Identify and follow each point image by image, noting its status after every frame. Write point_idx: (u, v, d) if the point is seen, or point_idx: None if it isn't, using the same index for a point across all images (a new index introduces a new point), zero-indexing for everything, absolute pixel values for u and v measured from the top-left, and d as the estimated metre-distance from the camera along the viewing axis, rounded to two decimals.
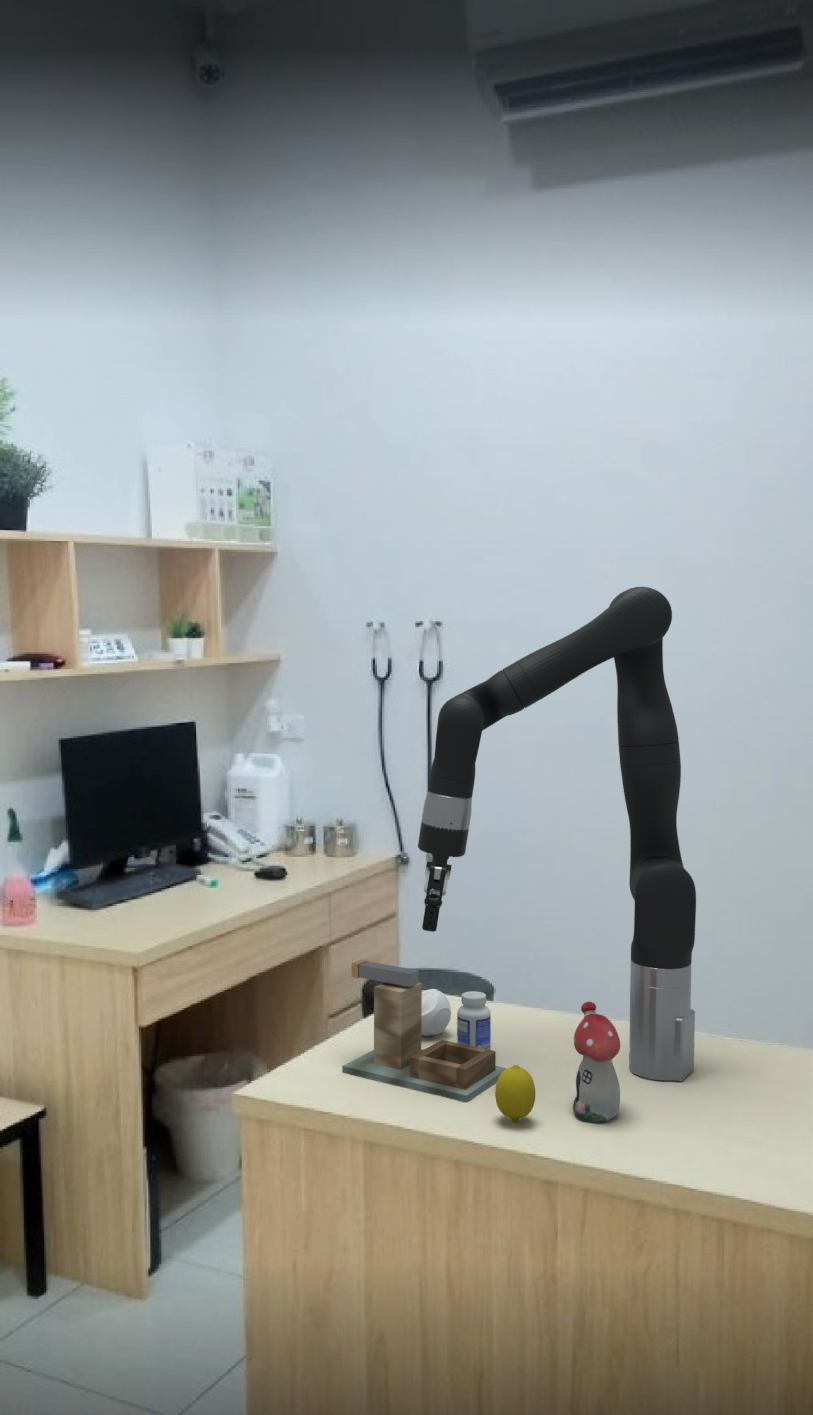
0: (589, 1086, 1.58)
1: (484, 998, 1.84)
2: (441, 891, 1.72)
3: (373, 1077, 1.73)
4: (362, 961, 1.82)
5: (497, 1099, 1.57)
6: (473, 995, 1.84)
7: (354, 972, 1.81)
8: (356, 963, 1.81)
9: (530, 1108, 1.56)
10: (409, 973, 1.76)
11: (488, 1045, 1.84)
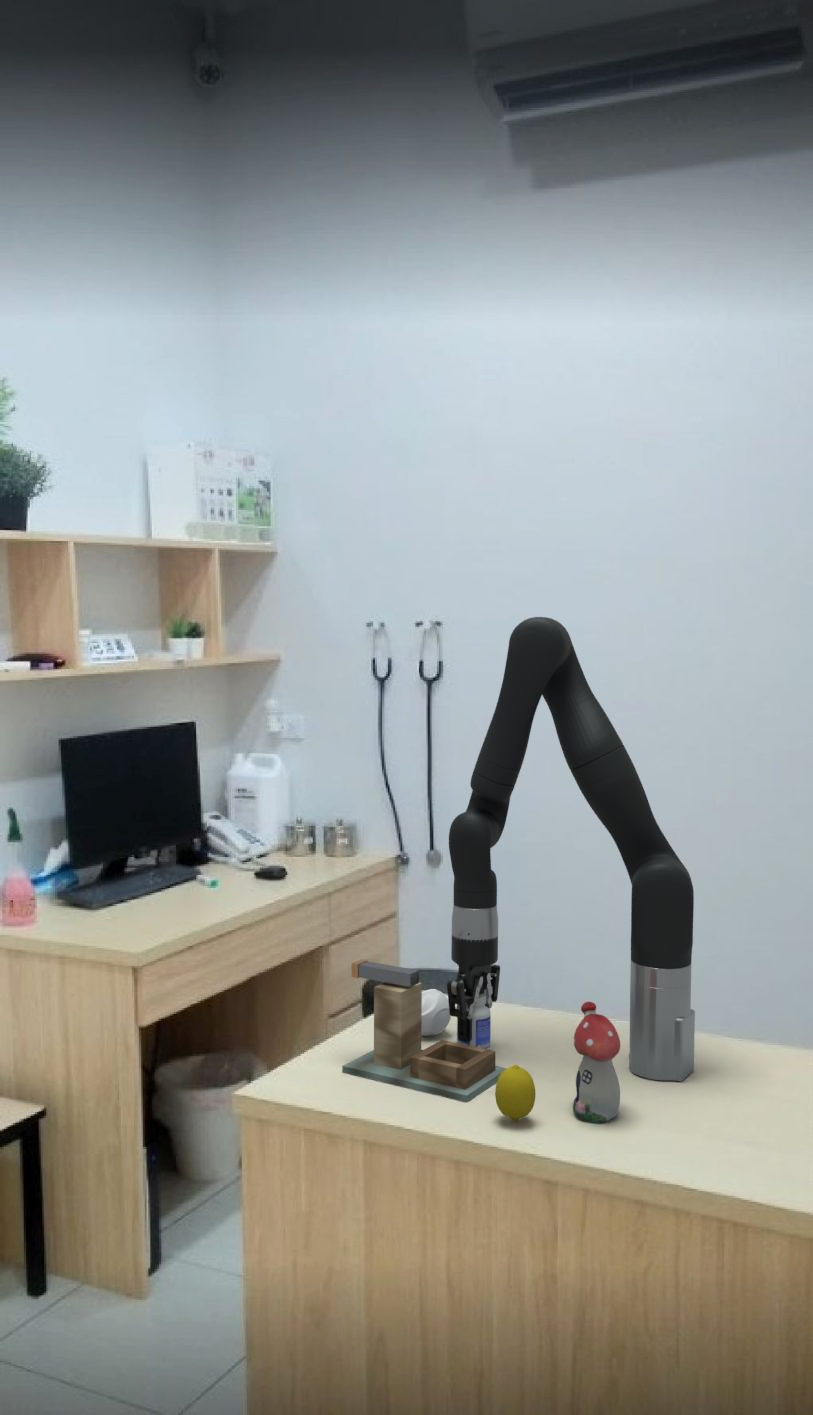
0: (589, 1086, 1.58)
1: (484, 998, 1.84)
2: (460, 1005, 1.79)
3: (373, 1077, 1.73)
4: (362, 961, 1.82)
5: (497, 1099, 1.57)
6: None
7: (354, 972, 1.81)
8: (356, 963, 1.81)
9: (530, 1108, 1.56)
10: (409, 973, 1.76)
11: (488, 1045, 1.84)
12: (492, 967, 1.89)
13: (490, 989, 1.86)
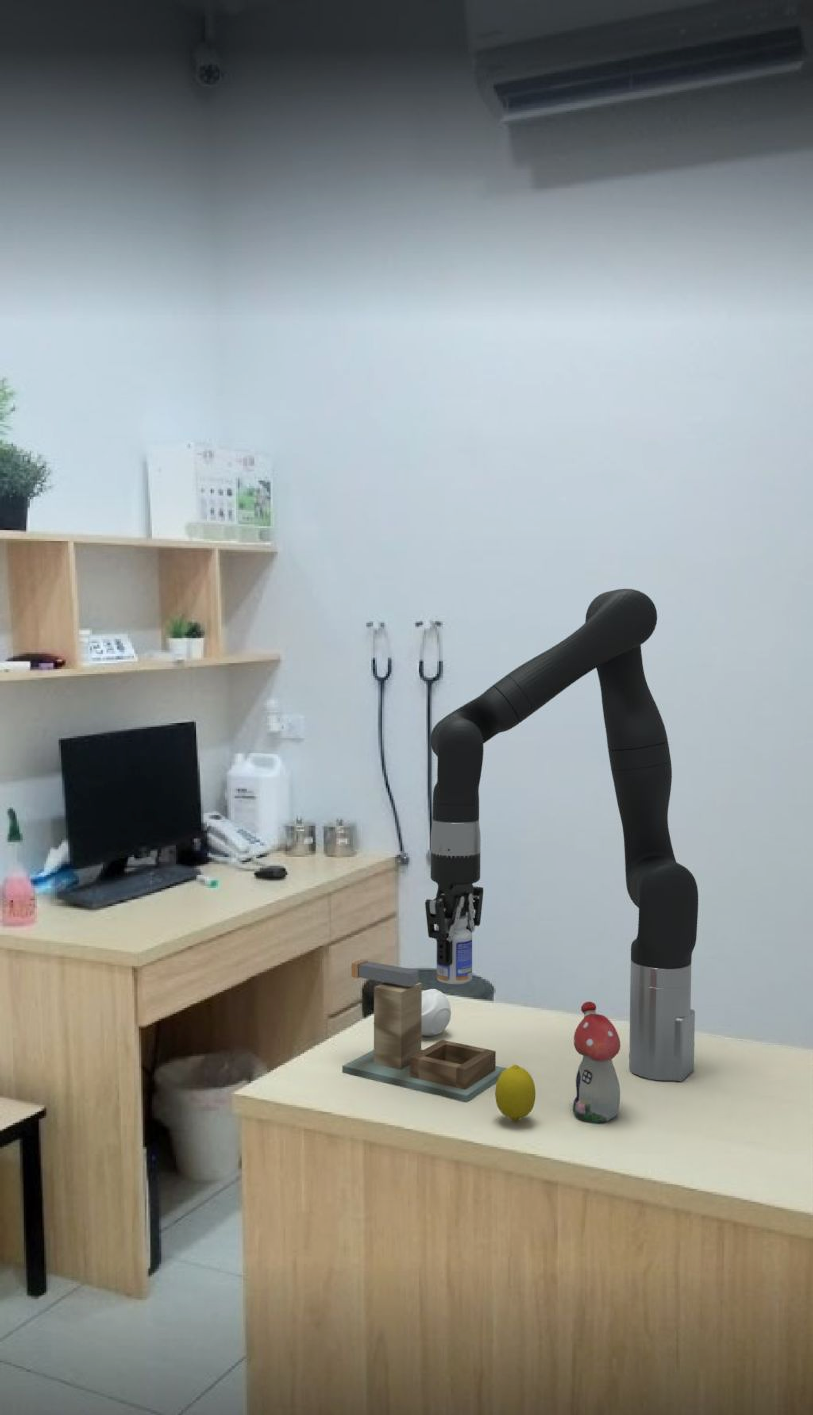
0: (589, 1086, 1.58)
1: (465, 920, 1.71)
2: (440, 925, 1.67)
3: (373, 1077, 1.73)
4: (362, 961, 1.82)
5: (497, 1099, 1.57)
6: None
7: (354, 972, 1.81)
8: (356, 963, 1.81)
9: (530, 1108, 1.56)
10: (409, 973, 1.76)
11: (469, 970, 1.71)
12: (475, 889, 1.77)
13: (472, 911, 1.74)
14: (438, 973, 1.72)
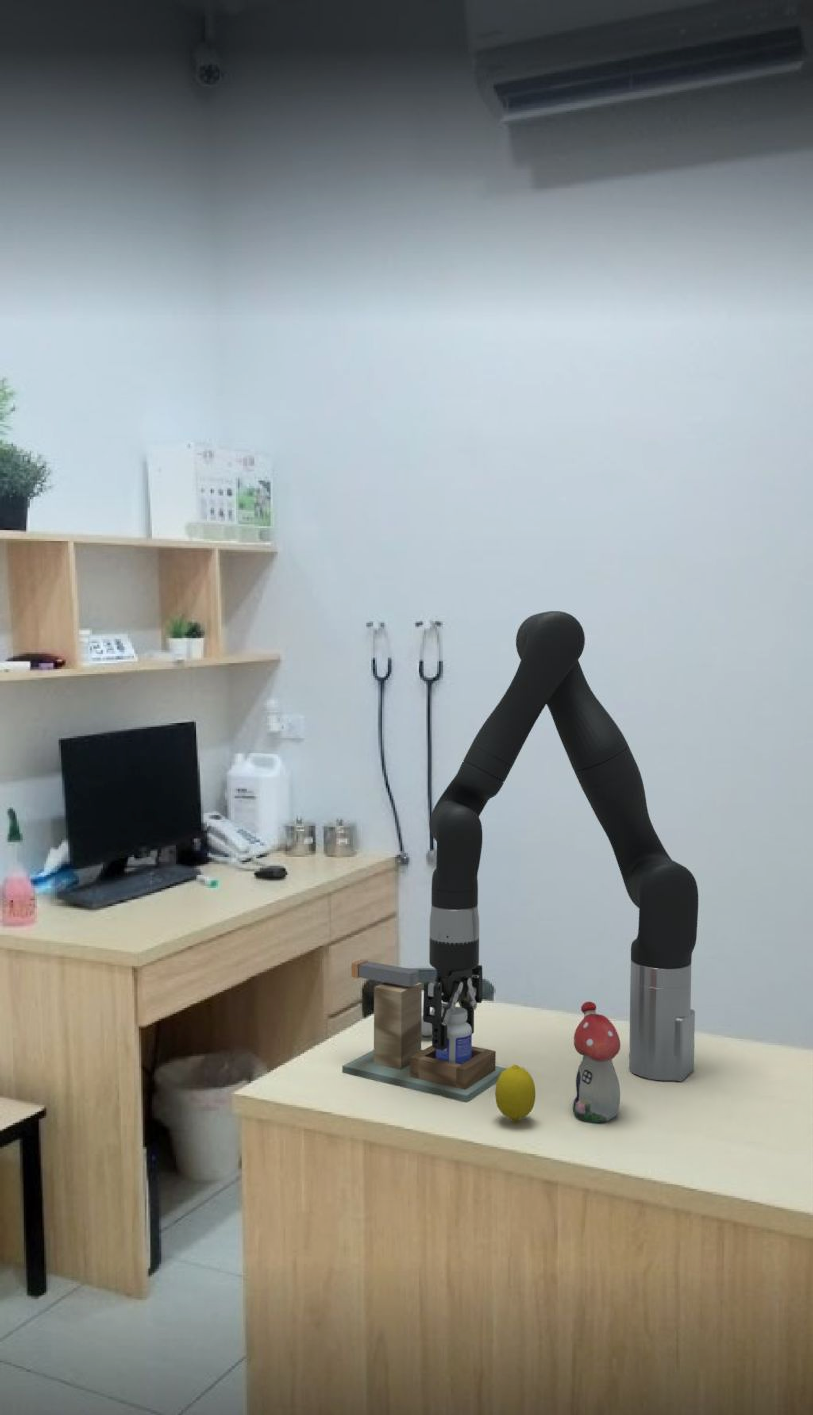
0: (589, 1086, 1.58)
1: (465, 1014, 1.72)
2: (436, 1009, 1.67)
3: (373, 1077, 1.73)
4: (362, 961, 1.82)
5: (497, 1099, 1.57)
6: (453, 1011, 1.72)
7: (354, 972, 1.81)
8: (356, 963, 1.81)
9: (530, 1108, 1.56)
10: (409, 973, 1.76)
11: None
12: (473, 968, 1.77)
13: (472, 992, 1.74)
14: None
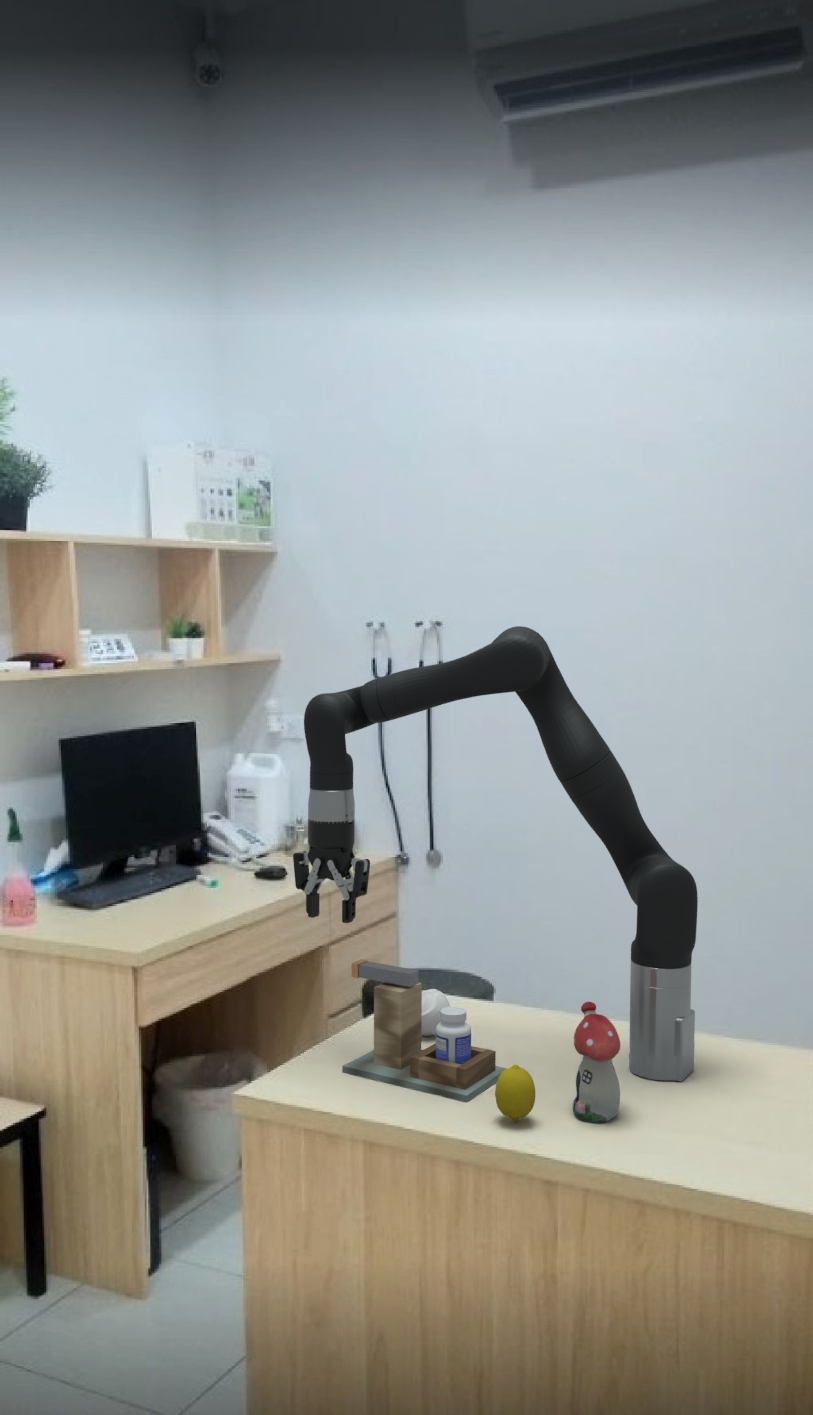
0: (589, 1086, 1.58)
1: (464, 1014, 1.72)
2: (295, 874, 1.87)
3: (373, 1077, 1.73)
4: (362, 961, 1.82)
5: (497, 1099, 1.57)
6: (453, 1011, 1.72)
7: (354, 972, 1.81)
8: (356, 963, 1.81)
9: (530, 1108, 1.56)
10: (409, 973, 1.76)
11: None
12: (356, 861, 1.81)
13: (337, 878, 1.82)
14: None
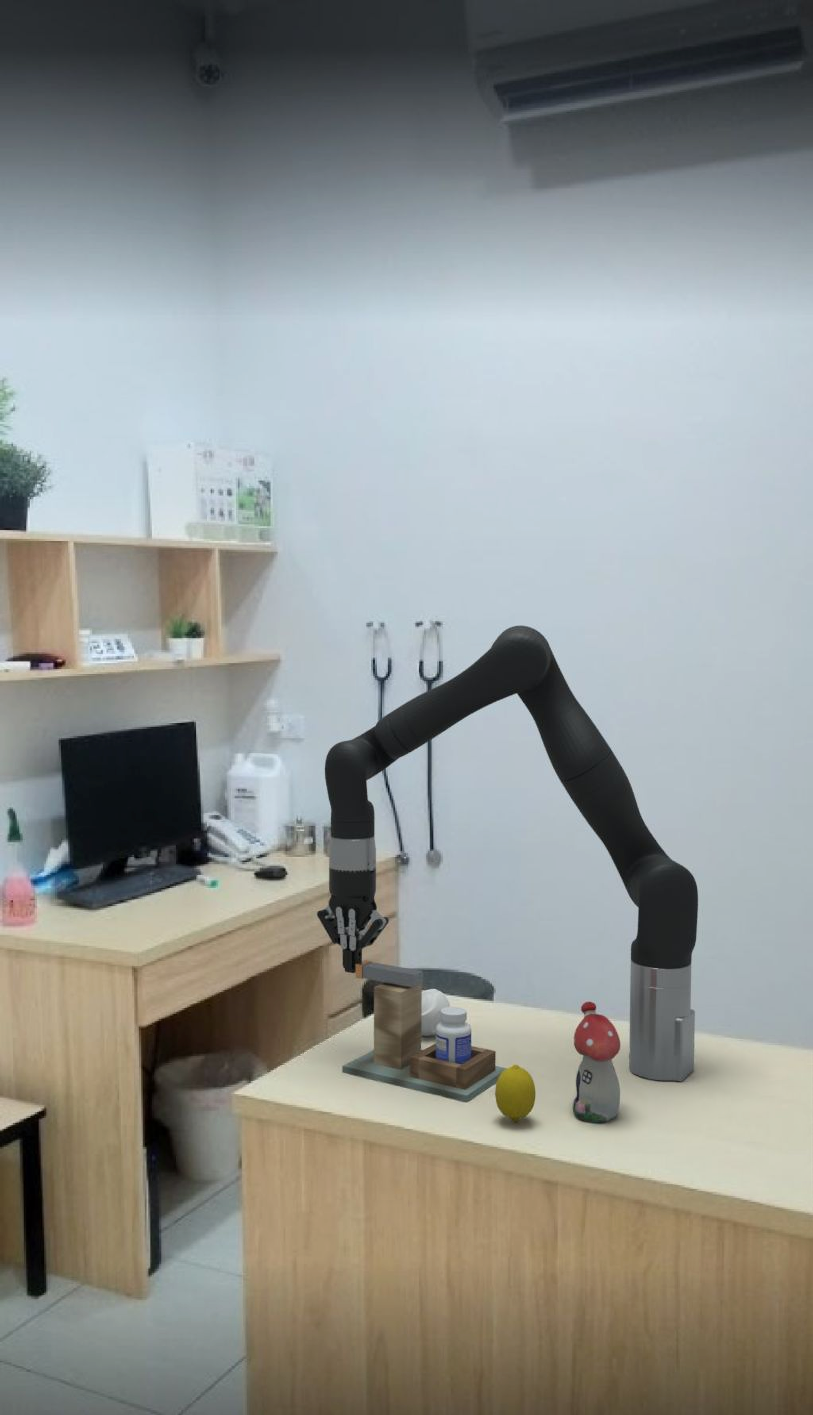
0: (589, 1086, 1.58)
1: (464, 1014, 1.72)
2: None
3: (373, 1077, 1.73)
4: (366, 962, 1.82)
5: (497, 1099, 1.57)
6: (453, 1011, 1.72)
7: (358, 973, 1.80)
8: (360, 964, 1.81)
9: (530, 1108, 1.56)
10: (413, 974, 1.75)
11: None
12: (376, 917, 1.80)
13: (352, 928, 1.81)
14: None
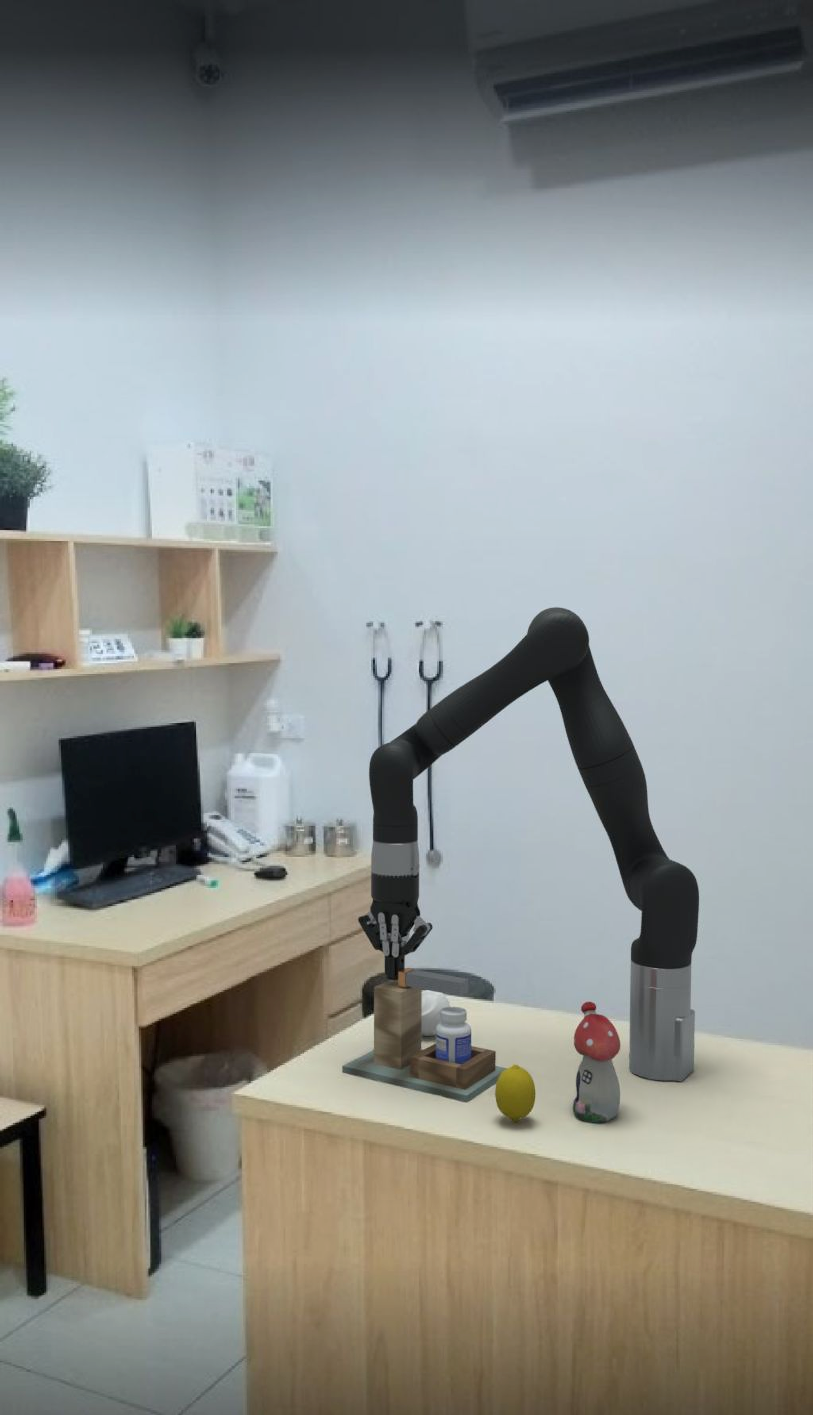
0: (589, 1086, 1.58)
1: (464, 1014, 1.72)
2: None
3: (373, 1077, 1.73)
4: (409, 969, 1.78)
5: (497, 1099, 1.57)
6: (453, 1011, 1.72)
7: (401, 981, 1.76)
8: (403, 971, 1.76)
9: (530, 1108, 1.56)
10: (459, 982, 1.71)
11: None
12: (420, 923, 1.75)
13: (395, 935, 1.76)
14: None
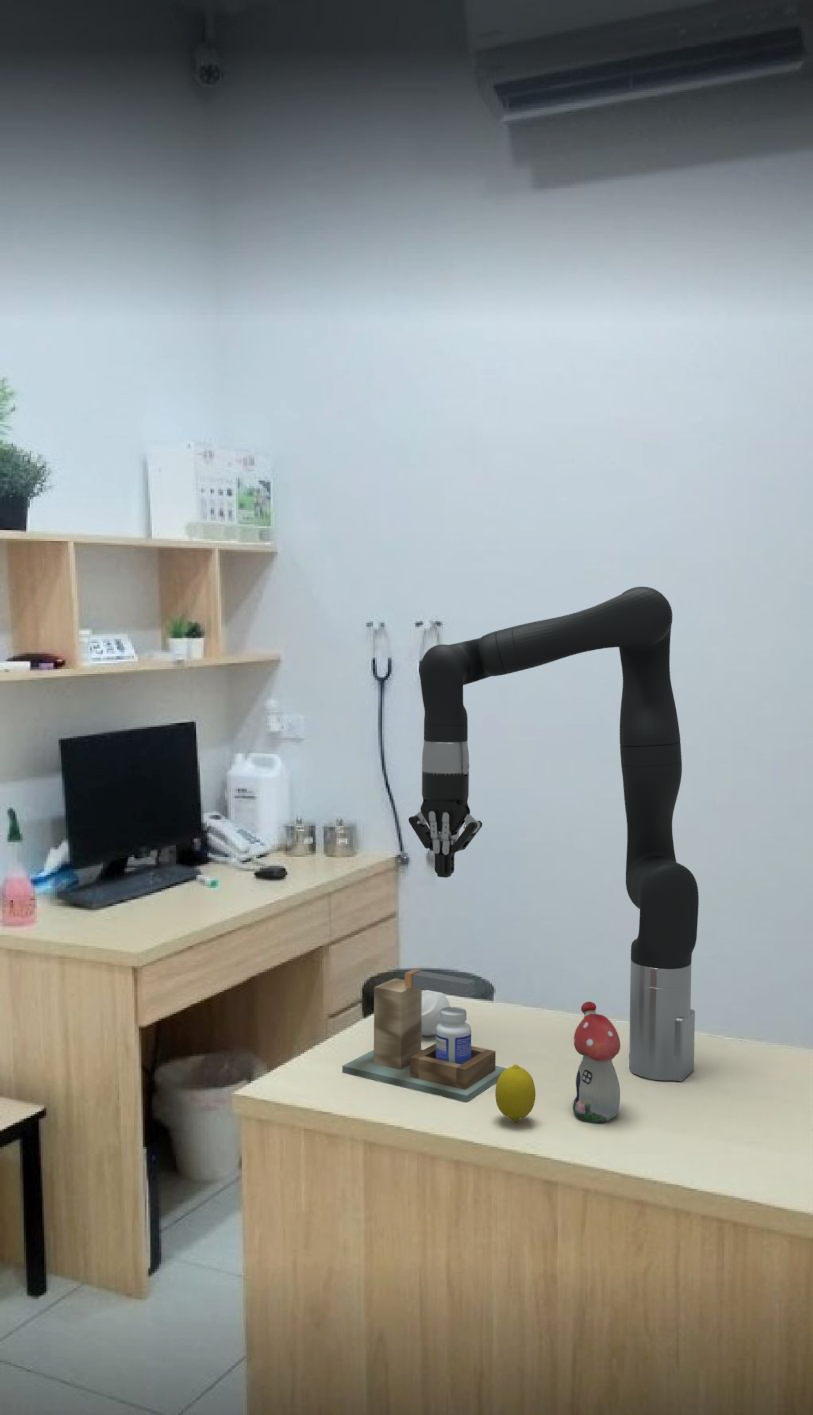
0: (589, 1086, 1.58)
1: (464, 1014, 1.72)
2: (419, 837, 1.85)
3: (373, 1077, 1.73)
4: (415, 970, 1.77)
5: (497, 1099, 1.57)
6: (453, 1011, 1.72)
7: (407, 982, 1.76)
8: (410, 973, 1.76)
9: (530, 1108, 1.56)
10: (466, 983, 1.70)
11: None
12: (470, 821, 1.80)
13: (445, 832, 1.81)
14: None
